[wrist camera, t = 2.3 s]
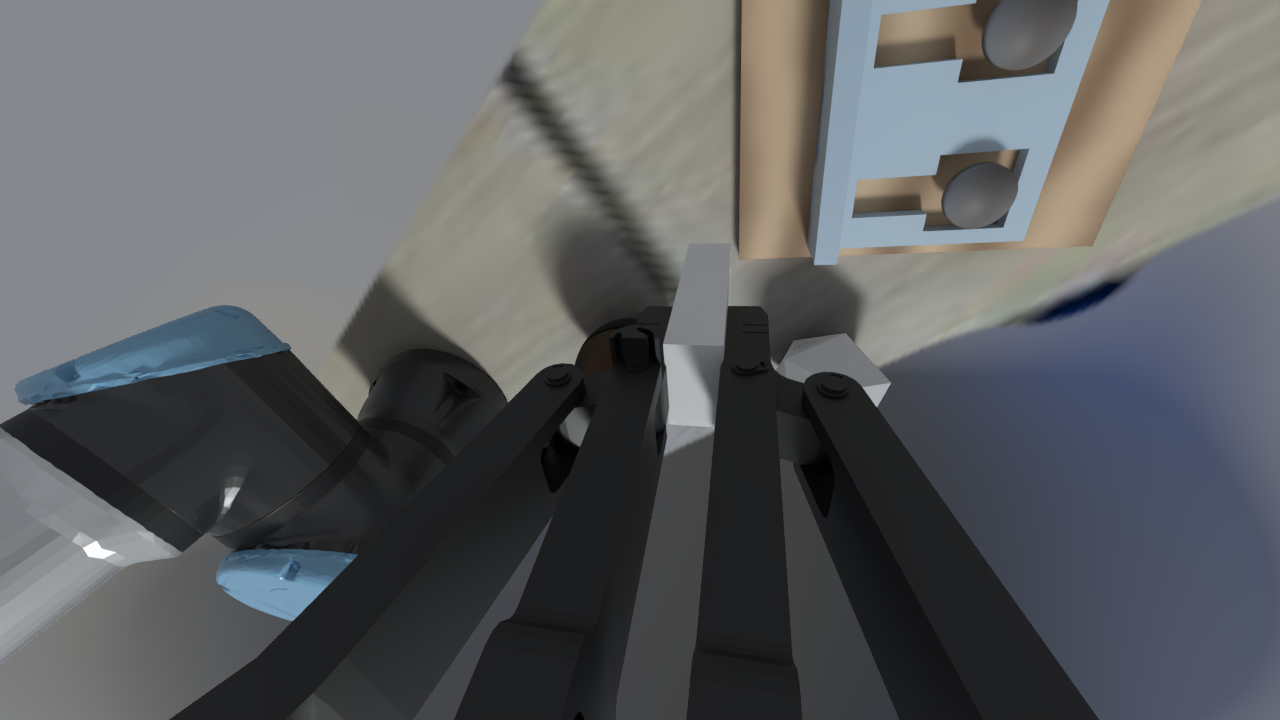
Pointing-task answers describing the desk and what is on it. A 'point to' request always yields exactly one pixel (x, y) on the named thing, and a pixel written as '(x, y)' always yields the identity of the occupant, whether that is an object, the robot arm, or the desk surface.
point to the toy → (599, 348)
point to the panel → (929, 127)
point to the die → (833, 363)
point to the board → (990, 47)
